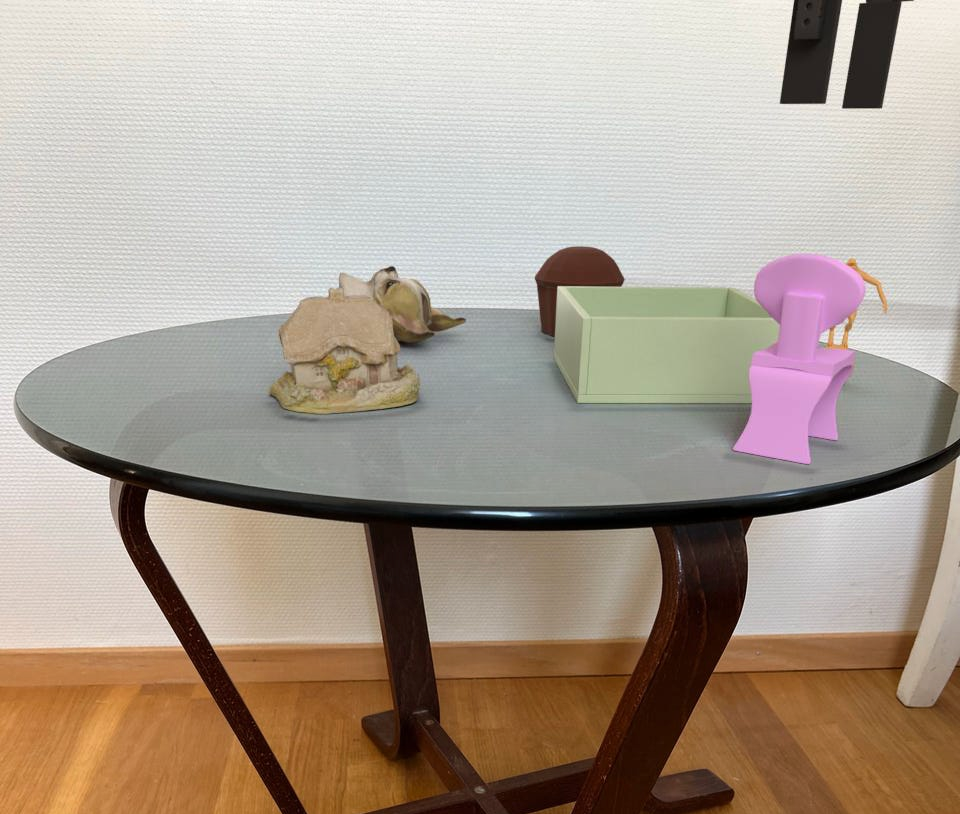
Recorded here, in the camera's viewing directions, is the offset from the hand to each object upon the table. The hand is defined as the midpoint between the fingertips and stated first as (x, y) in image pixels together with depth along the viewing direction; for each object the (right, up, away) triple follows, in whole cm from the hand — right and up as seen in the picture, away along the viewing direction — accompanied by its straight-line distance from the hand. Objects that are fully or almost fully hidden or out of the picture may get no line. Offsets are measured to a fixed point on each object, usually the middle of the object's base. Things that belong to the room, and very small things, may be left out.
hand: (834, 107), depth 64 cm
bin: (-6, -9, +34) cm, 36 cm away
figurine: (+12, -10, +34) cm, 37 cm away
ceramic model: (-37, -14, +25) cm, 47 cm away
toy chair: (+1, -20, +14) cm, 25 cm away
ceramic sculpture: (-35, 0, +50) cm, 61 cm away
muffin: (-12, +3, +57) cm, 58 cm away
